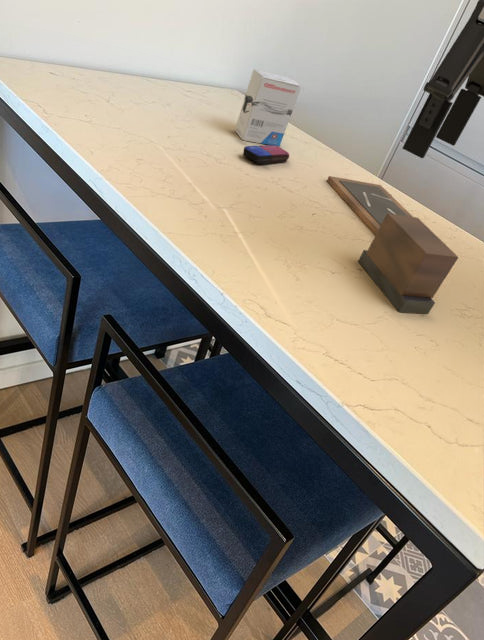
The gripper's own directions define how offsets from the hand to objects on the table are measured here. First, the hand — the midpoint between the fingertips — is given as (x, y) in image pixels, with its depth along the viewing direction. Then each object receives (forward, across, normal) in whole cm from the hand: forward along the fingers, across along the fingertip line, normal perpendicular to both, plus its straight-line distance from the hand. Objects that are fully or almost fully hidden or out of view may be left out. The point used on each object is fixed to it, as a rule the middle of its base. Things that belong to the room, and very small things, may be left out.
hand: (430, 147), depth 74 cm
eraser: (+18, -16, -29) cm, 38 cm away
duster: (+18, +3, +5) cm, 19 cm away
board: (+18, -20, -6) cm, 27 cm away
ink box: (+18, -23, -36) cm, 47 cm away
